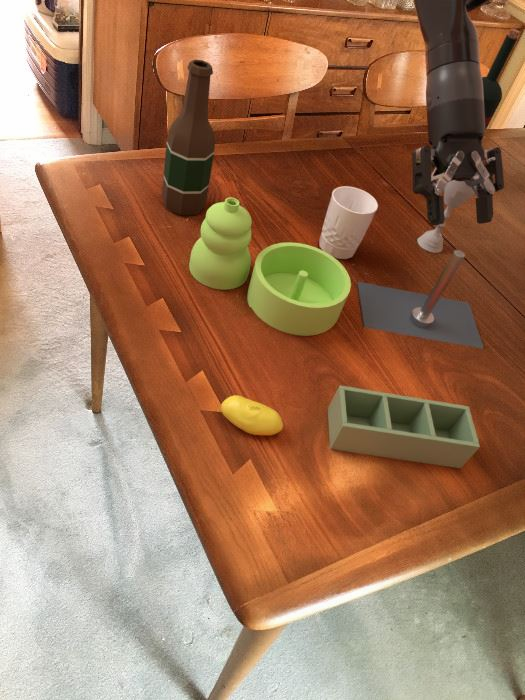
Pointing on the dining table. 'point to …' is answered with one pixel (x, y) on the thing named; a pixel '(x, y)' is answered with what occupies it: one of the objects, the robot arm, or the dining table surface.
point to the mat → (397, 305)
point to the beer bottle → (190, 147)
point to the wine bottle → (490, 83)
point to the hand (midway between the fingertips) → (461, 223)
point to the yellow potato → (251, 416)
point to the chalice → (446, 213)
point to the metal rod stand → (436, 292)
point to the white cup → (346, 221)
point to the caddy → (401, 427)
